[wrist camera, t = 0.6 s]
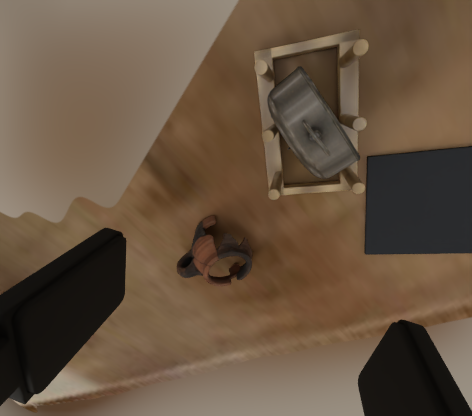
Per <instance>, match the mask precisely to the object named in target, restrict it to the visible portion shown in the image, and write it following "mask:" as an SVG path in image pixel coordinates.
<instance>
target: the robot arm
mask: <svg viewBox="0 0 472 416" xmlns="http://www.w3.org/2000/svg"><path fill="white" fill-rule="evenodd" d="M125 268H126V238H124V237H123V234H122V233H121V232H119V231H116V230H113V229H109V228H104V229H102V230H100V231H99V232H97V233H95V234H94V235H92V236H91V237H89V238H88V239H86V240H85V241H83V242H82V243H80V244H78V245H77V246H75V247H74V248H72V249H71V250H69V251H68V252H66V253H64V254H63V255H61V256H60V257H58V258H57V259H55V260H54V261H52V262H51V263H49V264H47V265H46V266H44V267H43V268H41V269H40V270H38V271H37V272H35V273H34V274H32V275H30V276H29V277H27V278H26V279H24V280H23V281H21V282H20V283H18V284H16V285H15V286H13V287H12V288H10V289H9V290H7V291H6V292H4V293H3V294H1V295H0V406H1V405H2V404H3V402H5V401H6V400H7V399H8V398H11V399H13V400H15V401H18V402H20V403H23V404H26V403H27V402H28V401H29V399H30V398H31V397H32V396H33V395H34V394H39V393H41V392H42V391H43V390H44V389H45V388H46V387H47V386H48V385H49V384H50V383H51V381H52V380H53V379H54V378H55V377H56V376H57V375H58V374H59V372H60V371H61V370H62V369H63V368H64V367H65V366H66V364H67V363H68V362H69V361H70V360H71V359H72V358H73V357H74V355H75V354H76V353H77V352H78V351H79V350H80V349H81V348H82V346H83V345H84V344H85V343H86V342H87V341H88V340H89V338H90V337H91V336H92V335H93V334H94V333H95V332H96V331H97V329H98V328H99V327H100V326H101V325H102V324H103V323H104V322H105V320H106V319H107V318H108V317H109V316H110V315H111V314H112V312H113V311H114V310H115V309H116V308H117V307H118V306H119V305H120V303H121V302H122V300H123V298H124V295H125ZM358 387H359V392H360V397H361V401H362V406H363V410H364V415H365V416H472V411H471V409H470V407H469V405H468V404H467V402H466V400H465V398H464V397H463V395H462V393H461V391H460V390H459V388H458V386H457V384H456V382H455V381H454V379H453V377H452V375H451V373H450V372H449V370H448V368H447V366H446V365H445V363H444V361H443V360H442V358H441V356H440V354H439V352H438V351H437V349H436V347H435V345H434V343H433V342H432V340H431V338H430V336H429V335H428V333H427V331H426V329H425V328H424V327H423V326H421V325H419V324H415V323H412V322H409V321H406V320H399V321H398V322H397V323H396V322H393V323H392V324H391V325H390V327H389V328H388V330H387V332H386V333H385V335H384V336H383V338H382V340H381V341H380V343H379V345H378V346H377V347H376V349H375V351H374V352H373V354H372V356H371V357H370V359H369V360H368V362H367V363H366V365H365V366H364V368H363V370H362V371H361V373H360V375H359V378H358Z"/></svg>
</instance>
